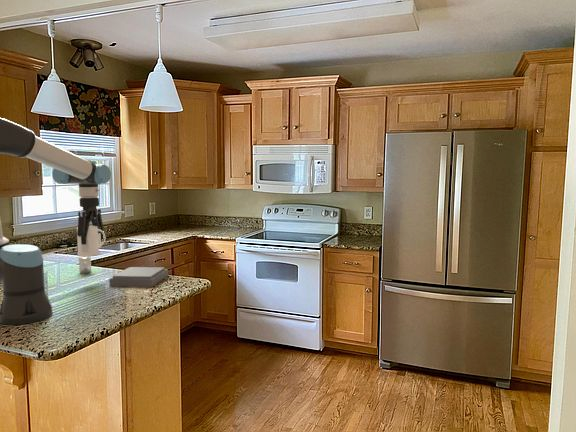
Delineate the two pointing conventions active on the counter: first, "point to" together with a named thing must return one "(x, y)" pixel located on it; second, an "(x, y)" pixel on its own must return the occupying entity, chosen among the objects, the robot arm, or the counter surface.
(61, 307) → the counter surface
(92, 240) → the mug
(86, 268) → the spice tin
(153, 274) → the podium
